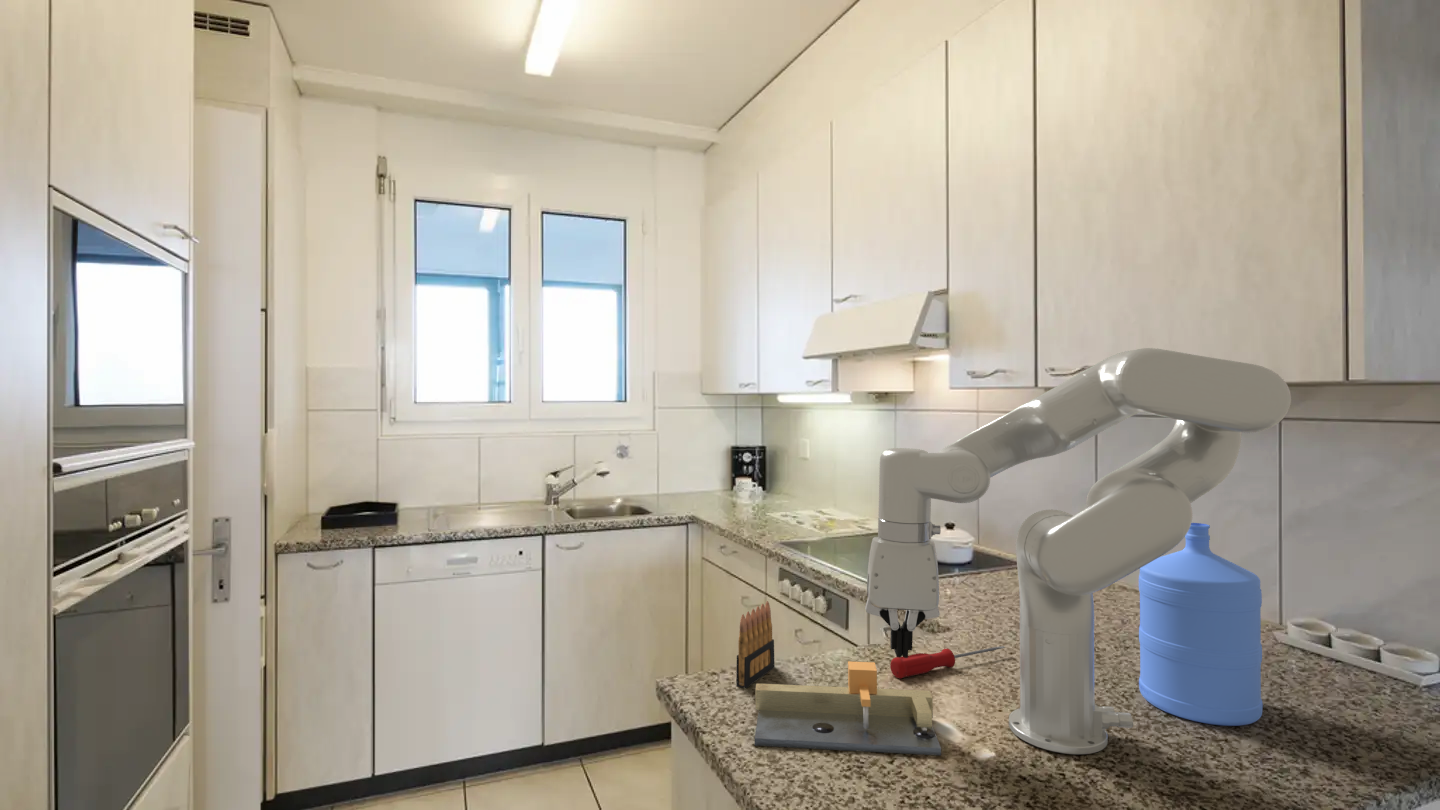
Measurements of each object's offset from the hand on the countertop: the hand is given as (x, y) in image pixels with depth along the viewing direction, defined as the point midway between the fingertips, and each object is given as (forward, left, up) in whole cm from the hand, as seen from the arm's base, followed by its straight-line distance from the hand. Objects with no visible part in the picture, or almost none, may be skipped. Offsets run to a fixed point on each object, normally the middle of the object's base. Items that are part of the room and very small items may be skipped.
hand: (901, 654), depth 102 cm
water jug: (-46, -10, -10) cm, 48 cm away
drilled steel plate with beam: (+9, +3, -10) cm, 13 cm away
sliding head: (+6, +3, -8) cm, 10 cm away
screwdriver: (-12, -22, -10) cm, 27 cm away
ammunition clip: (+23, -14, -10) cm, 28 cm away
